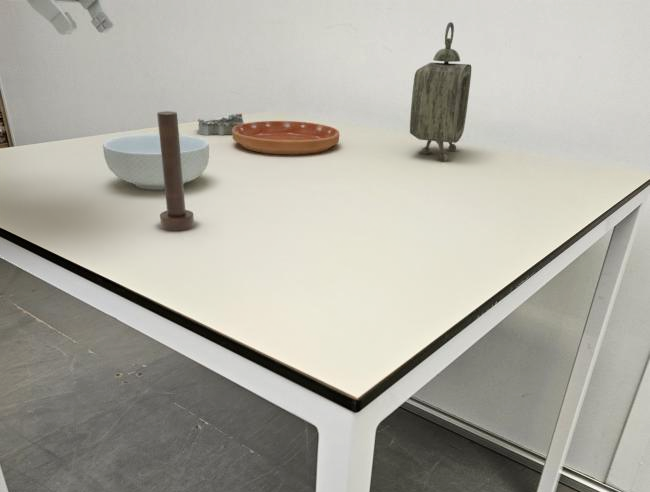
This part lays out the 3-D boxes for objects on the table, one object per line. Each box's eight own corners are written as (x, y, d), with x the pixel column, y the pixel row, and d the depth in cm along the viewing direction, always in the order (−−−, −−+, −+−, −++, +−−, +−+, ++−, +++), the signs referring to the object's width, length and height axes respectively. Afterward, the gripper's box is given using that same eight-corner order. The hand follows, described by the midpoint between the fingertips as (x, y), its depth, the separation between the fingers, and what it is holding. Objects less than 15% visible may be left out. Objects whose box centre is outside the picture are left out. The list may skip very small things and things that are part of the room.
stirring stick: (169, 235, 79) (157, 116, 72) (156, 226, 82) (143, 111, 75) (200, 229, 82) (191, 114, 75) (185, 221, 85) (176, 109, 78)
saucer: (326, 135, 143) (326, 119, 141) (350, 157, 123) (351, 138, 121) (228, 137, 138) (228, 120, 136) (237, 160, 118) (236, 140, 117)
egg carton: (244, 131, 146) (244, 113, 144) (243, 137, 139) (243, 118, 137) (199, 130, 145) (198, 112, 143) (196, 136, 138) (195, 117, 136)
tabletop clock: (450, 165, 119) (467, 23, 107) (405, 160, 121) (417, 22, 110) (461, 151, 131) (477, 22, 119) (420, 147, 133) (432, 21, 122)
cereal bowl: (205, 199, 94) (202, 153, 91) (97, 199, 93) (89, 152, 90) (215, 172, 109) (213, 132, 106) (122, 172, 108) (116, 131, 105)
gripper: (38, -54, 78) (110, 43, 83) (-74, -75, 60) (25, 51, 65) (71, -88, 76) (143, 14, 80) (-36, -120, 58) (64, 13, 62)
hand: (89, 30), depth 72 cm, fingers open, 8 cm apart
